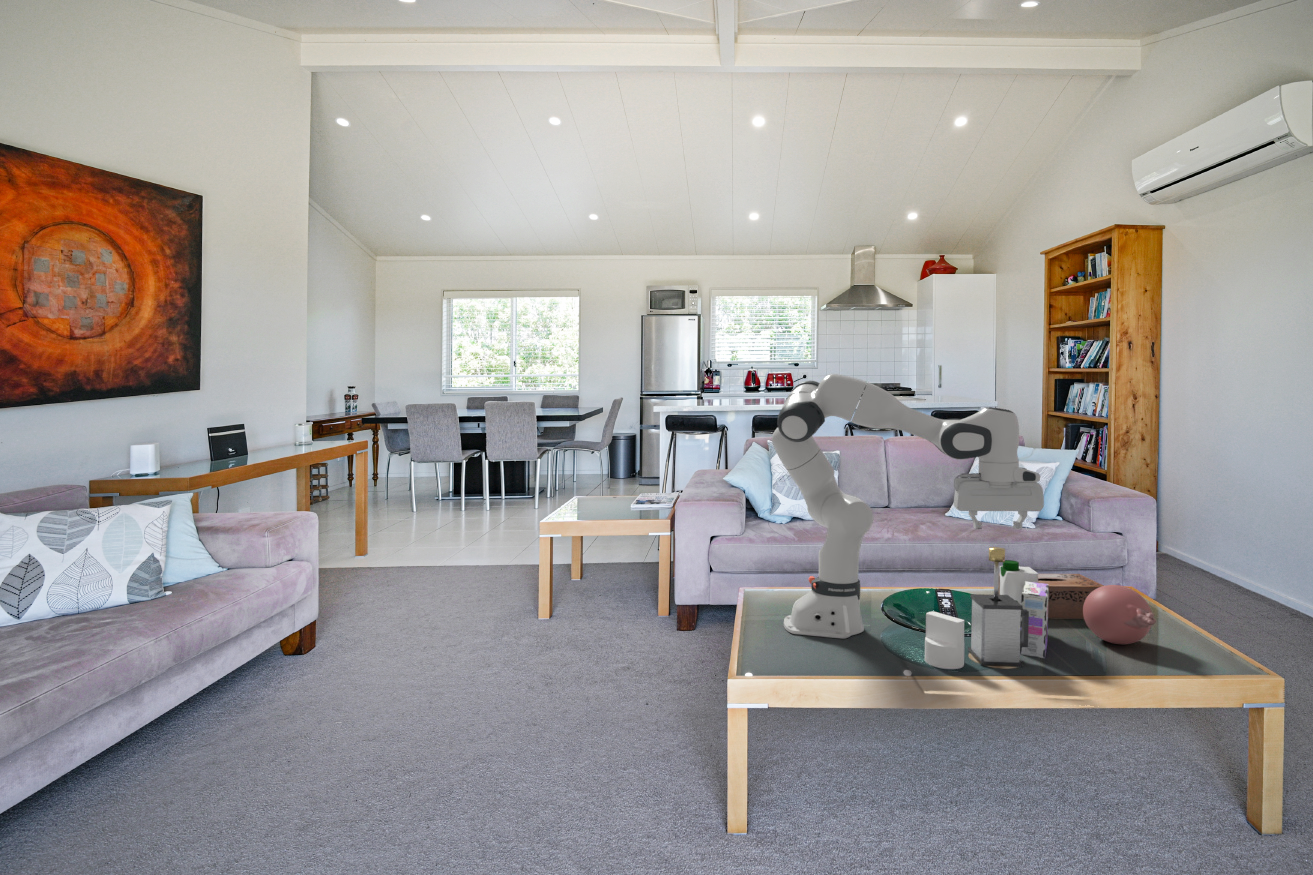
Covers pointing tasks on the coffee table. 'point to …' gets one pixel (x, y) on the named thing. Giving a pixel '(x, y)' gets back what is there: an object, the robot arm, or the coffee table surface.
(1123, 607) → the pink oval ball
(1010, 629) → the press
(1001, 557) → the plunger
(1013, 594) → the milk carton
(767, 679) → the coffee table surface
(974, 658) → the trivet
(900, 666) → the coffee table surface
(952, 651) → the cylinder with rectangular tab
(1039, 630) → the candy box
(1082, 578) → the tissue box cover
